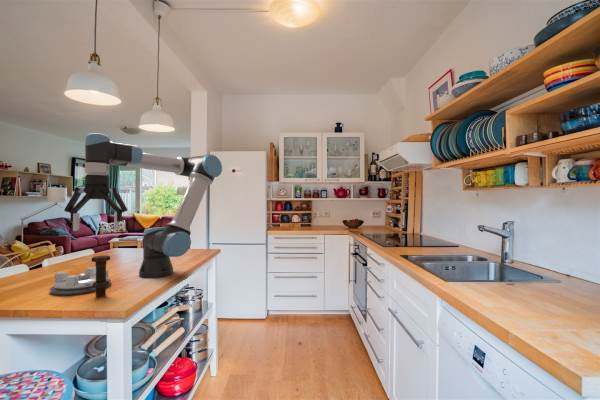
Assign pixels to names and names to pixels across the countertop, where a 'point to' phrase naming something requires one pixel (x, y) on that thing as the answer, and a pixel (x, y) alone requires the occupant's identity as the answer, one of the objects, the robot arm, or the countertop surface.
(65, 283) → the grey round fixture plate
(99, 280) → the bolt
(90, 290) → the dark round base plate
